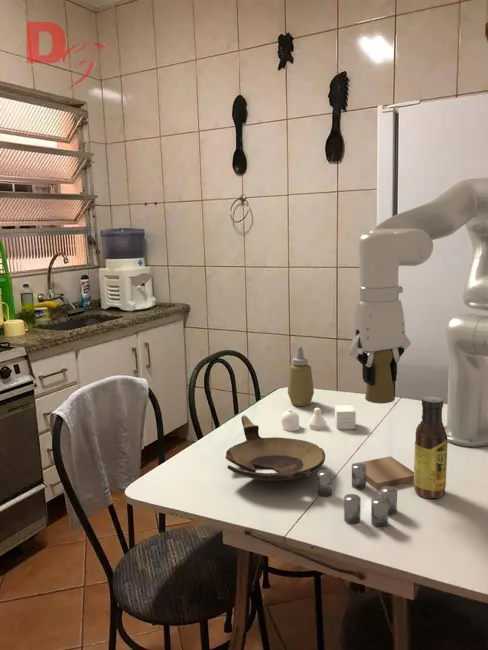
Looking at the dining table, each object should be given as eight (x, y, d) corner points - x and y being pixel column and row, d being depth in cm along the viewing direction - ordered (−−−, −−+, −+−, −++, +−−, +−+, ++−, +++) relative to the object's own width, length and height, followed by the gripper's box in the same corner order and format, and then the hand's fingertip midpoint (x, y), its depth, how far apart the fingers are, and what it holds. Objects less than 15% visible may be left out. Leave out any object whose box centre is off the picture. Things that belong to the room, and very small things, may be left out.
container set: (352, 423, 150) (352, 404, 149) (355, 430, 145) (355, 411, 144) (280, 424, 151) (280, 405, 150) (280, 431, 146) (280, 412, 145)
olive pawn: (396, 403, 110) (395, 351, 107) (365, 403, 111) (364, 351, 109) (393, 393, 115) (393, 343, 113) (364, 393, 117) (364, 343, 114)
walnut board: (390, 462, 125) (390, 456, 125) (417, 481, 116) (417, 474, 116) (352, 470, 122) (352, 463, 122) (377, 490, 113) (377, 483, 113)
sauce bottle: (441, 502, 107) (445, 407, 103) (409, 495, 110) (411, 402, 106) (448, 488, 112) (452, 397, 109) (418, 481, 116) (420, 392, 112)
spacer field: (361, 481, 117) (361, 462, 116) (409, 521, 101) (410, 499, 100) (315, 491, 113) (315, 471, 112) (357, 534, 97) (357, 511, 97)
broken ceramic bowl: (225, 503, 110) (223, 468, 109) (226, 443, 140) (225, 415, 138) (334, 498, 110) (334, 463, 109) (313, 440, 140) (312, 411, 138)
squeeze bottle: (286, 407, 164) (285, 350, 160) (288, 399, 172) (287, 343, 168) (313, 408, 163) (312, 350, 159) (314, 399, 170) (313, 343, 167)
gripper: (403, 288, 115) (403, 370, 119) (332, 296, 109) (334, 383, 113) (426, 292, 108) (425, 380, 112) (351, 302, 102) (353, 393, 106)
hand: (379, 380), depth 112 cm, fingers closed on olive pawn, 4 cm apart
